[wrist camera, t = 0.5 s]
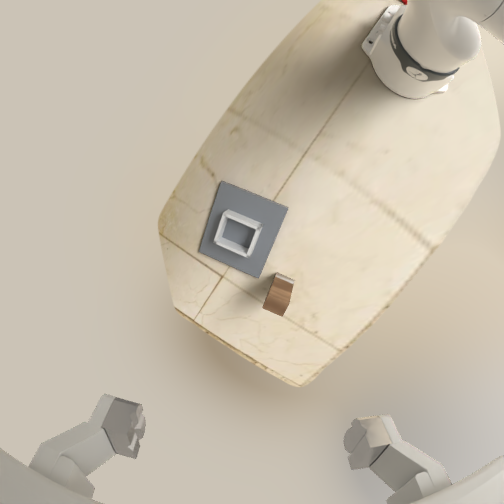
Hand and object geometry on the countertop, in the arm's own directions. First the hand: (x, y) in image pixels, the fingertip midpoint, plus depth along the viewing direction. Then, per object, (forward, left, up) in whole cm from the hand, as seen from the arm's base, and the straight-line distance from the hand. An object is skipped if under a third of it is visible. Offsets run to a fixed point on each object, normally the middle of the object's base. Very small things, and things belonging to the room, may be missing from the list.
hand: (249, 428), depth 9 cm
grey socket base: (+10, -10, -47) cm, 49 cm away
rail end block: (+17, +2, -47) cm, 50 cm away
